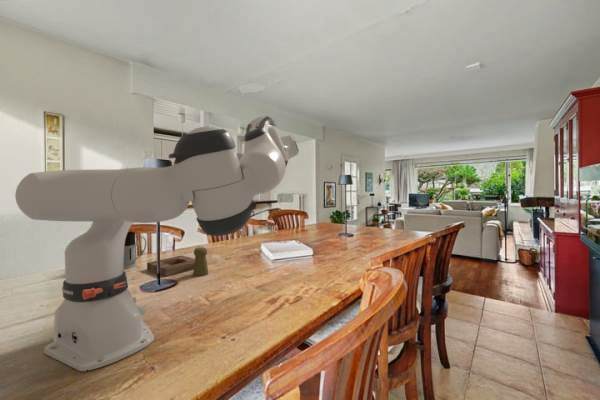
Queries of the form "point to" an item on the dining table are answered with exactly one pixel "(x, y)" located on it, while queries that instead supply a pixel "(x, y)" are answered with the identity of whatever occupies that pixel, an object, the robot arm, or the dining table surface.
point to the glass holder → (131, 250)
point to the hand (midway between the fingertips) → (224, 171)
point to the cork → (200, 262)
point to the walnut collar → (172, 265)
